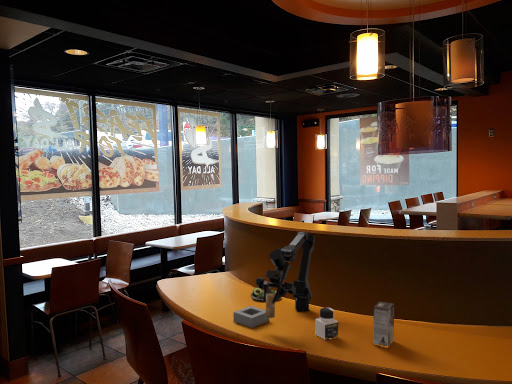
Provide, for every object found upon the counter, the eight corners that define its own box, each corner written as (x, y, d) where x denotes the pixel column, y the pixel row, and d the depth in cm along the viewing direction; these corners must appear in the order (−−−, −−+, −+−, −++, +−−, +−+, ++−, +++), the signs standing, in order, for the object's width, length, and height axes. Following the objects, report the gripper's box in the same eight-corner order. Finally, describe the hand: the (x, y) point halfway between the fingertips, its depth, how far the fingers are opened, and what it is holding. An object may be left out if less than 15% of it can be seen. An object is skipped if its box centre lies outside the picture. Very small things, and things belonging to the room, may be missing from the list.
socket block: (250, 314, 197) (250, 305, 196) (269, 320, 188) (269, 311, 188) (233, 321, 188) (233, 311, 188) (251, 327, 180) (251, 318, 179)
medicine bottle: (325, 340, 166) (325, 312, 165) (314, 334, 172) (315, 307, 172) (338, 337, 169) (338, 310, 169) (328, 331, 175) (328, 305, 175)
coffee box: (378, 337, 169) (379, 300, 168) (394, 341, 166) (394, 303, 165) (372, 345, 161) (373, 306, 161) (388, 349, 158) (389, 309, 157)
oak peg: (274, 314, 177) (274, 292, 177) (274, 318, 173) (275, 295, 173) (265, 314, 177) (265, 292, 177) (265, 318, 173) (265, 295, 173)
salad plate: (281, 292, 236) (281, 284, 236) (288, 301, 218) (288, 293, 218) (249, 293, 233) (249, 285, 233) (253, 303, 216) (253, 294, 216)
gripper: (257, 260, 183) (243, 289, 174) (293, 265, 173) (281, 296, 164) (265, 273, 190) (253, 302, 181) (300, 278, 180) (289, 309, 171)
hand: (268, 302), depth 174 cm, fingers closed on oak peg, 4 cm apart
